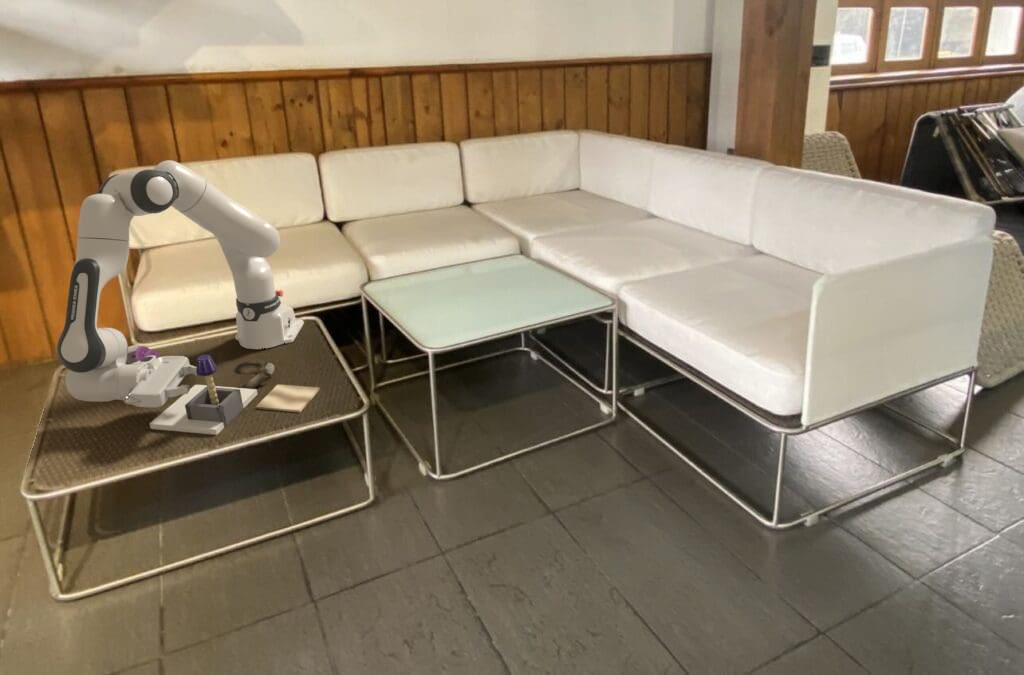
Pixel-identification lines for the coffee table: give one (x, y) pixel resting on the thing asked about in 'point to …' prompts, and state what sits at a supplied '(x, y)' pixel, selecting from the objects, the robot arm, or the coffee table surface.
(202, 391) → the socket board
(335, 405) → the coffee table surface
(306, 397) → the birch pad
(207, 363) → the toy lamp
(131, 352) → the usb wall charger
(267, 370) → the eagle figurine
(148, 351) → the bracket
